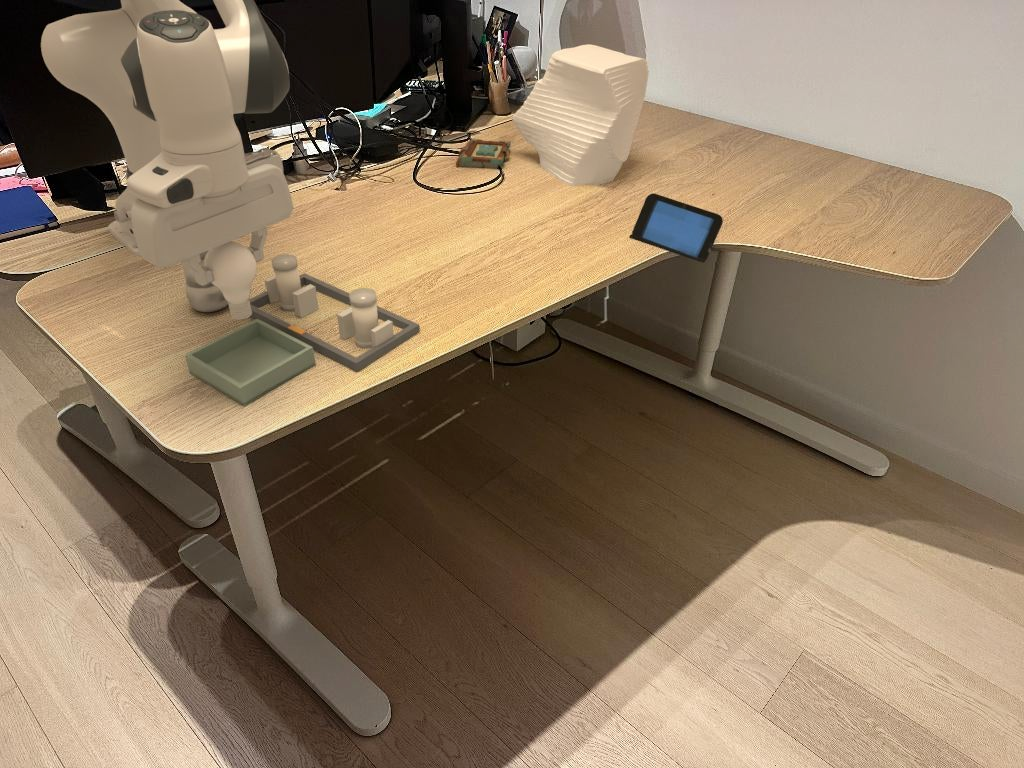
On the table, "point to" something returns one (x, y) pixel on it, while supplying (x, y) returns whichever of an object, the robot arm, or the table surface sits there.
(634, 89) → the white ridged sculpture
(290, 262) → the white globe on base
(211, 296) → the plastic bottle
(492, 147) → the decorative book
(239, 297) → the lightbulb
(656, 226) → the small black monitor
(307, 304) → the rail
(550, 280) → the table surface
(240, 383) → the tray
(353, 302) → the cylinder
